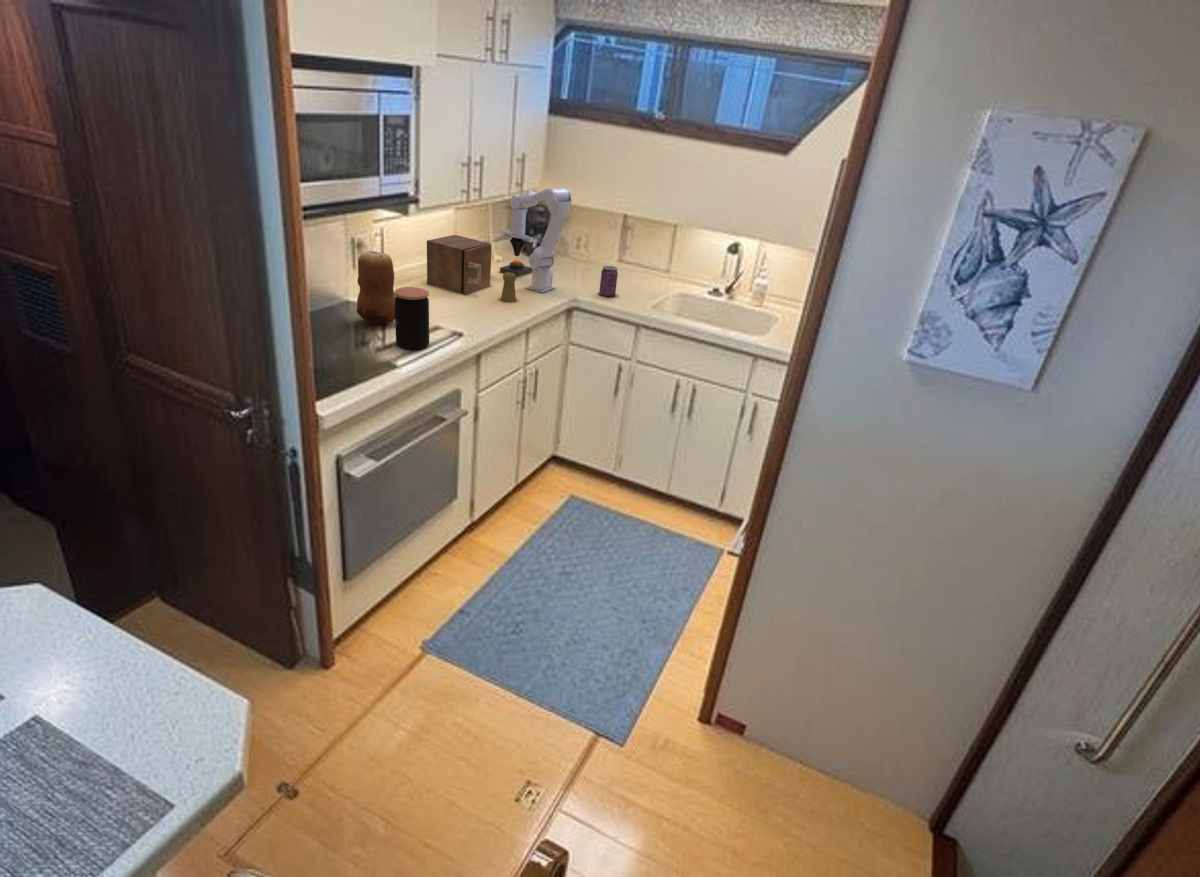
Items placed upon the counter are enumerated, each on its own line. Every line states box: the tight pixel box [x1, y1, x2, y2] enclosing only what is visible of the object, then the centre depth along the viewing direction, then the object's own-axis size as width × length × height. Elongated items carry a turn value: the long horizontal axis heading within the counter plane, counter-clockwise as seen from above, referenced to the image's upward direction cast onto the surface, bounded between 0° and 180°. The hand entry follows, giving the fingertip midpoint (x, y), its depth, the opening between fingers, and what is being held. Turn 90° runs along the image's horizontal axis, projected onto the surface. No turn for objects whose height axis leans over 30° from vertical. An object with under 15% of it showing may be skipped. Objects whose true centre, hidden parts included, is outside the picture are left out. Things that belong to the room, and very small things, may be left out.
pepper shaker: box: [500, 272, 517, 303], centre depth 279 cm, size 6×6×11 cm
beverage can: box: [598, 265, 619, 297], centre depth 300 cm, size 7×7×12 cm
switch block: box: [499, 261, 532, 278], centre depth 319 cm, size 12×10×4 cm
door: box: [462, 243, 493, 295], centre depth 284 cm, size 7×18×18 cm, turn 154°
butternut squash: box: [356, 250, 396, 326], centre depth 236 cm, size 14×13×25 cm
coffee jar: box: [394, 286, 430, 351], centre depth 224 cm, size 11×11×18 cm
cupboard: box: [426, 234, 490, 294], centre depth 288 cm, size 18×18×18 cm
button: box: [512, 259, 522, 265], centre depth 317 cm, size 4×4×2 cm
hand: (517, 255), depth 305 cm, fingers closed
